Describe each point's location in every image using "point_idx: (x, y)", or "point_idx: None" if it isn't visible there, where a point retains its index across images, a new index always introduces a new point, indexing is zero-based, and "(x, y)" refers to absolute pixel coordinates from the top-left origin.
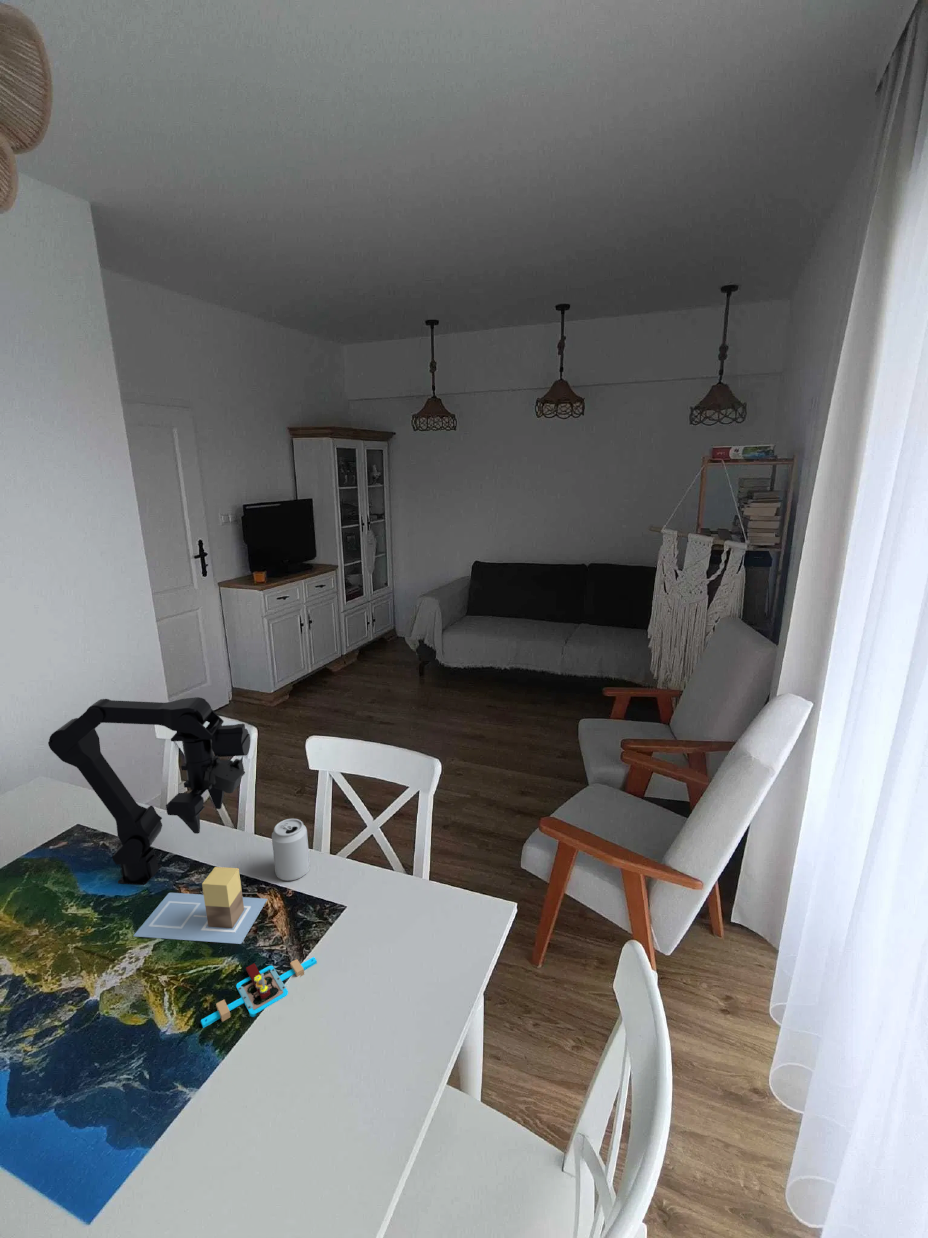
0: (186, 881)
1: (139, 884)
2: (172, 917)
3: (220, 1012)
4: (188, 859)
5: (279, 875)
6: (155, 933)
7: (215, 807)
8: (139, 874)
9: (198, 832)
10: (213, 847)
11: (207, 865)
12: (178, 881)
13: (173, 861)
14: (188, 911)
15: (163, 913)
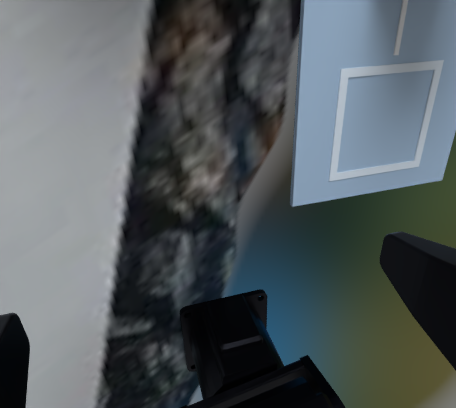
0: (229, 194)
1: (265, 303)
2: (392, 123)
3: None
4: (123, 264)
5: None
6: (445, 128)
7: (27, 362)
8: (262, 326)
9: (412, 235)
10: (24, 230)
11: (135, 181)
12: (232, 218)
13: (145, 298)
14: (374, 87)
15: (374, 161)
